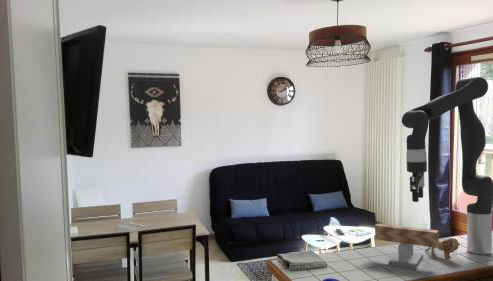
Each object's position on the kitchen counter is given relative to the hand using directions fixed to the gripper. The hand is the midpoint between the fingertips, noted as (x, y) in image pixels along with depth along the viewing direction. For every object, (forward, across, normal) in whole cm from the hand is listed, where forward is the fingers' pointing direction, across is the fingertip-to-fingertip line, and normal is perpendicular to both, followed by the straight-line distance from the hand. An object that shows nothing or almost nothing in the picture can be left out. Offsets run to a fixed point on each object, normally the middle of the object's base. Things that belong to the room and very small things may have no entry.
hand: (417, 199), depth 160 cm
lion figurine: (+26, +11, -7) cm, 29 cm away
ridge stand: (+26, -3, +5) cm, 26 cm away
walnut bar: (+18, -3, +5) cm, 18 cm away
